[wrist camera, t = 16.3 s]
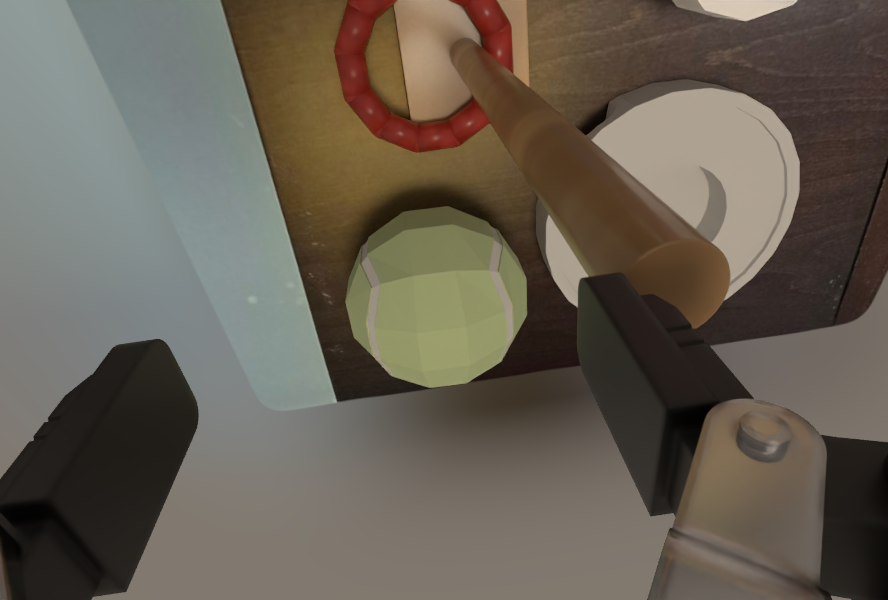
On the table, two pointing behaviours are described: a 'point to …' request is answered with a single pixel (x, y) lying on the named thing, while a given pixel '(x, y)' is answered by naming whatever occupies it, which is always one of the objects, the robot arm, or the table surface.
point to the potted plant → (734, 7)
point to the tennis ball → (436, 296)
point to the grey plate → (697, 172)
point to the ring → (350, 56)
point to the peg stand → (558, 159)
